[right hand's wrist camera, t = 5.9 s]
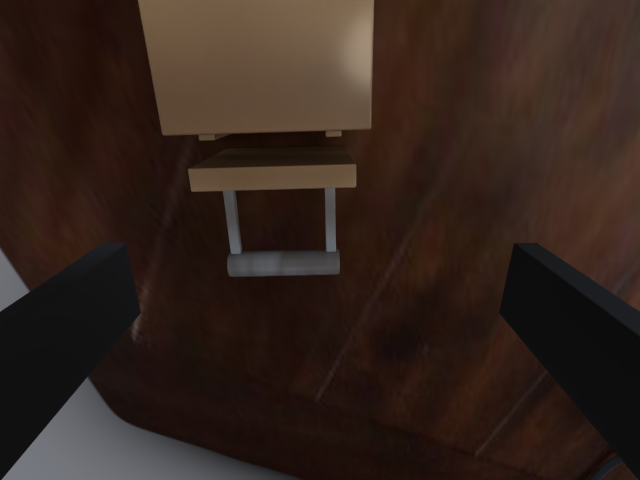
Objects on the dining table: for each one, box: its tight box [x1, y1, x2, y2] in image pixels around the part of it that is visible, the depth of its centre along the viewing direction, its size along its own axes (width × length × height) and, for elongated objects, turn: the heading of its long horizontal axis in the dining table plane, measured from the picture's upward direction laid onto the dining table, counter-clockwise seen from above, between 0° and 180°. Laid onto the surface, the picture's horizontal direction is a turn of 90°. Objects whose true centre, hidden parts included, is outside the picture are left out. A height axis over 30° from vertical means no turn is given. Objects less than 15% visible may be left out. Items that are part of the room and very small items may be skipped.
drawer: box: [188, 130, 356, 277], centre depth 20 cm, size 25×8×8 cm, turn 2°
